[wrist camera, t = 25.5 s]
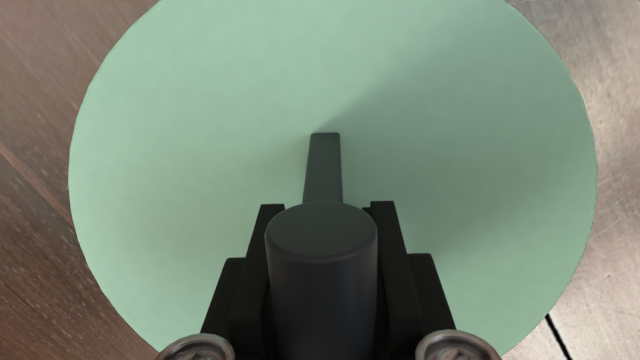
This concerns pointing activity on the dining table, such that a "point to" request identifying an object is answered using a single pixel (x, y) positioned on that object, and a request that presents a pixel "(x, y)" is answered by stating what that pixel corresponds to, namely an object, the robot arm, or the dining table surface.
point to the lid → (332, 164)
